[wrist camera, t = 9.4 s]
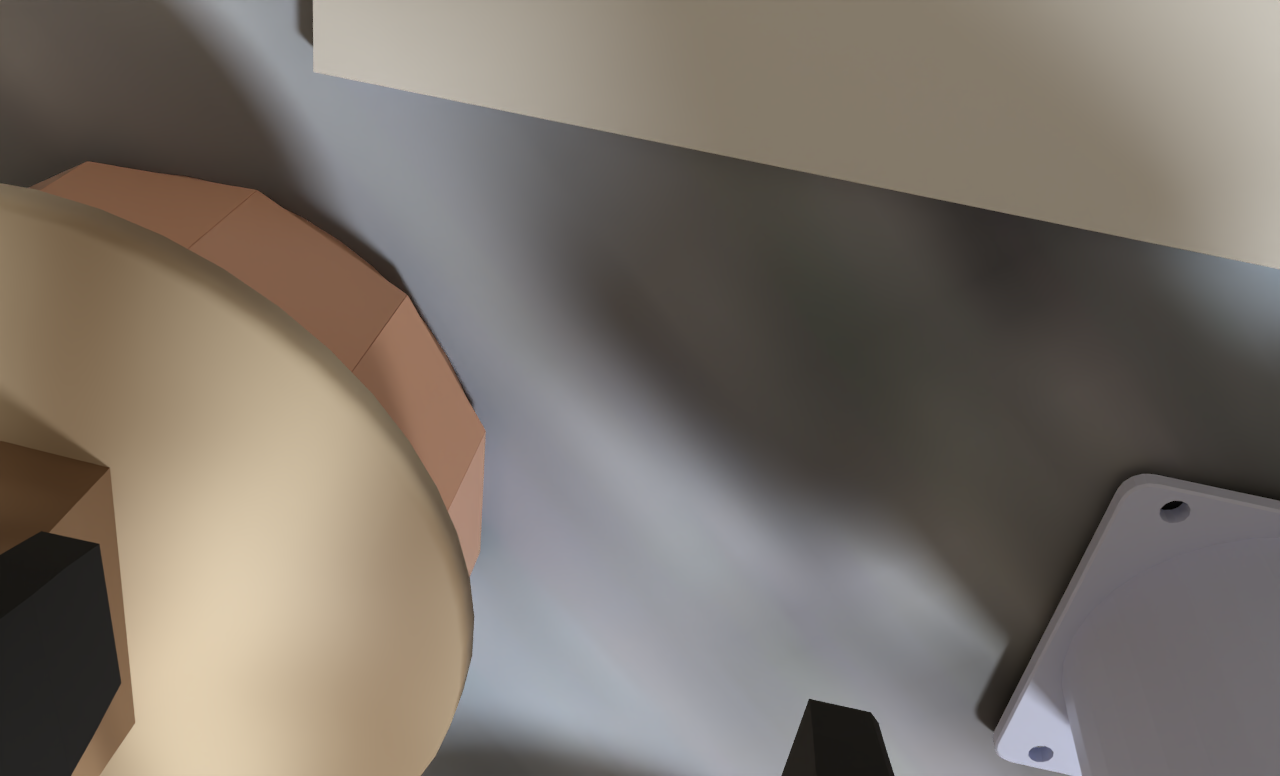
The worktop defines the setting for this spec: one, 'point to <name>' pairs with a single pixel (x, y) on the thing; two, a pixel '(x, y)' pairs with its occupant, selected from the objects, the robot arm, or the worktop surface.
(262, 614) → the lid
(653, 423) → the worktop surface
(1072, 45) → the mat
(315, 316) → the bowl
